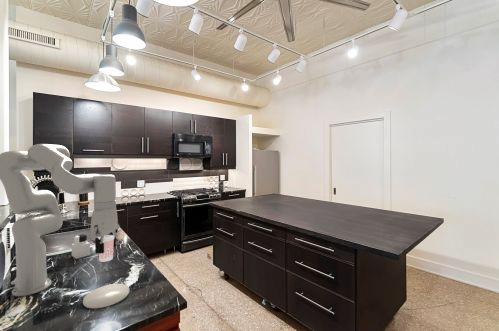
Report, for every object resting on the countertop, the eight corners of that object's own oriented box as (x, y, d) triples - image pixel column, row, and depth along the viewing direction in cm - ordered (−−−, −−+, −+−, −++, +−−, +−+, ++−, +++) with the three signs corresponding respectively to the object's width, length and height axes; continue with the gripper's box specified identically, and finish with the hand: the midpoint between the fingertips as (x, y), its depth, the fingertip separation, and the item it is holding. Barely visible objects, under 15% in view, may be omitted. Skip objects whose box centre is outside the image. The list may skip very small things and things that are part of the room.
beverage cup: (109, 255, 99) (109, 222, 99) (118, 258, 96) (117, 224, 96) (94, 260, 94) (93, 225, 94) (102, 263, 91) (101, 227, 90)
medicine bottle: (85, 252, 142) (85, 232, 142) (90, 254, 138) (90, 234, 138) (71, 256, 137) (71, 235, 136) (76, 259, 132) (75, 238, 132)
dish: (72, 308, 88) (72, 305, 88) (103, 285, 104) (103, 282, 104) (112, 310, 86) (112, 307, 86) (137, 287, 102) (137, 284, 102)
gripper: (111, 201, 103) (111, 242, 104) (79, 209, 86) (79, 258, 87) (127, 201, 103) (127, 242, 103) (98, 210, 85) (98, 259, 86)
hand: (106, 249), depth 95 cm, fingers closed on beverage cup, 6 cm apart
